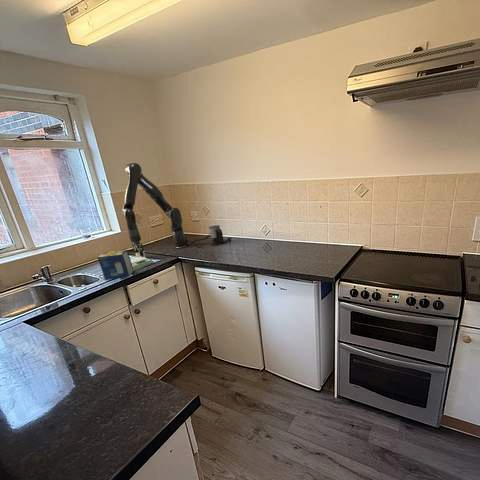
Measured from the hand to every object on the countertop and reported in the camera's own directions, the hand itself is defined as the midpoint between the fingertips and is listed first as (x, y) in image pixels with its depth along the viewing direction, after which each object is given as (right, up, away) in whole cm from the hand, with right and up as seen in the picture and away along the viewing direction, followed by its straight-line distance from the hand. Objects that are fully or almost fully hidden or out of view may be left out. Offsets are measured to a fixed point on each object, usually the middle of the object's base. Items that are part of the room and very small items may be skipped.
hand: (140, 255), depth 231 cm
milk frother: (+60, +12, +19) cm, 64 cm away
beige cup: (+1, -2, +1) cm, 2 cm away
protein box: (+1, -15, -32) cm, 35 cm away
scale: (+4, -7, -12) cm, 15 cm away
